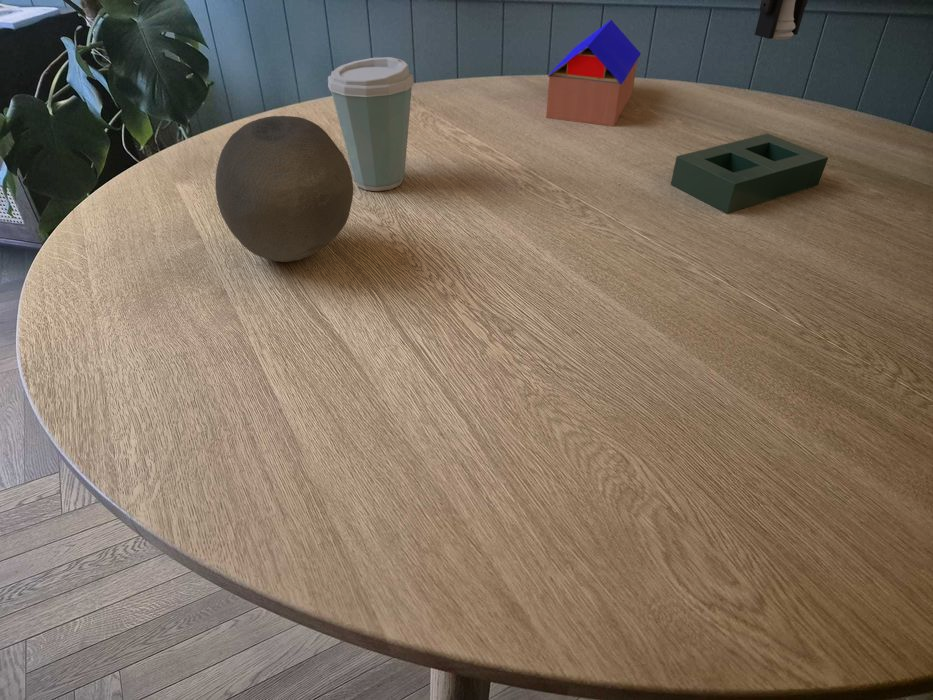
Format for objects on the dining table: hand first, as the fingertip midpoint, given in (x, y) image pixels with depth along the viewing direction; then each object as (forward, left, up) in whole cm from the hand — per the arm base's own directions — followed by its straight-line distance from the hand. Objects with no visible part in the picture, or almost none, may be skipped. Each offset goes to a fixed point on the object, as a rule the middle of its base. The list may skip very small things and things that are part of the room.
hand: (776, 34), depth 96 cm
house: (+23, +13, -15) cm, 31 cm away
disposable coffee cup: (+11, +59, -15) cm, 62 cm away
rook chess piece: (0, 0, 0) cm, 1 cm away
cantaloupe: (-3, +75, -15) cm, 77 cm away
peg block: (-14, +16, -15) cm, 26 cm away
